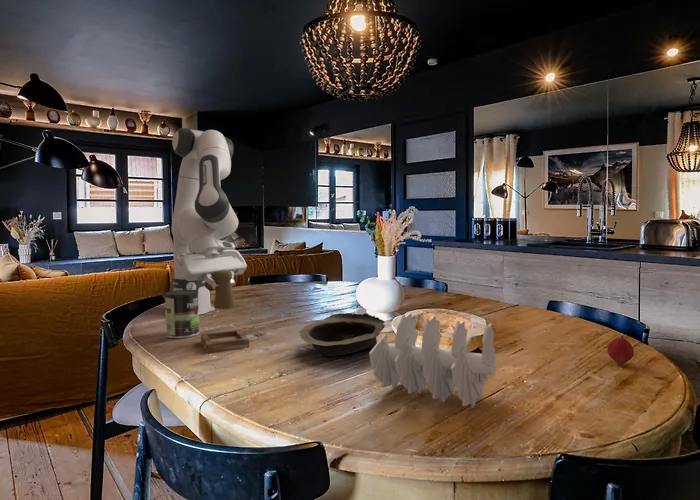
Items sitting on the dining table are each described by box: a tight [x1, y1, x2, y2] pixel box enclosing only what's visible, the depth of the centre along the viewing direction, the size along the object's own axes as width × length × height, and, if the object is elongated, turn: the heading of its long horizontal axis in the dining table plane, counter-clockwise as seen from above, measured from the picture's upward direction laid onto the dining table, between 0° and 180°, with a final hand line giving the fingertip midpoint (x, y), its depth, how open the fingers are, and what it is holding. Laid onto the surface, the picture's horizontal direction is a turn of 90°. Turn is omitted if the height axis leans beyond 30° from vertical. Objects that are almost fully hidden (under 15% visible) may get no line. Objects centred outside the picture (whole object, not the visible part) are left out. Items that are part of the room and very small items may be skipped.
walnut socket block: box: [200, 329, 250, 354], centre depth 135 cm, size 12×12×2 cm
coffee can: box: [164, 290, 200, 339], centre depth 147 cm, size 10×10×14 cm
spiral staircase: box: [368, 312, 497, 408], centre depth 97 cm, size 18×18×25 cm
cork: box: [213, 270, 236, 310], centre depth 134 cm, size 6×6×11 cm
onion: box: [607, 334, 635, 366], centre depth 116 cm, size 6×6×8 cm
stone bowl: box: [298, 312, 386, 358], centre depth 129 cm, size 25×25×9 cm
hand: (224, 286), depth 134 cm, fingers closed on cork, 4 cm apart
